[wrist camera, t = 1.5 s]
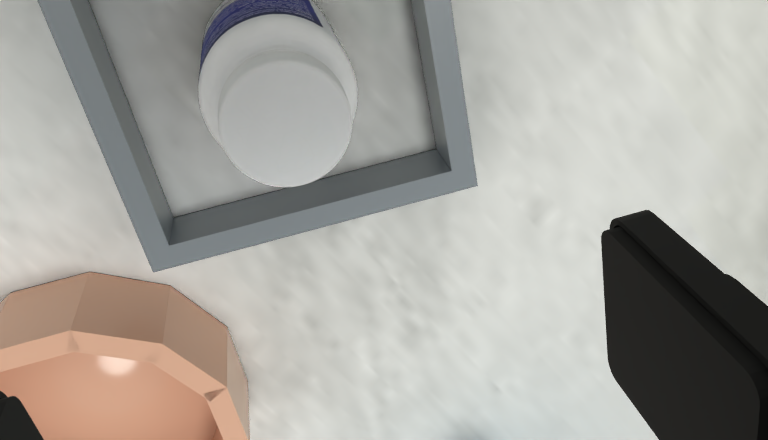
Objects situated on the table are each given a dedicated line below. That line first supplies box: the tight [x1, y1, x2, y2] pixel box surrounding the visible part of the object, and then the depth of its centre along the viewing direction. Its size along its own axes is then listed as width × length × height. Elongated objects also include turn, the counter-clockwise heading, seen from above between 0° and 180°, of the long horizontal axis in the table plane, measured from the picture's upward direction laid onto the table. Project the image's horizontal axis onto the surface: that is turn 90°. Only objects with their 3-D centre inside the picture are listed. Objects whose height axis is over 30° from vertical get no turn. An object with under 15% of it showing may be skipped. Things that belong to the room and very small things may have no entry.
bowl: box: [0, 272, 250, 440], centre depth 33 cm, size 13×13×4 cm
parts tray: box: [38, 0, 478, 272], centre depth 28 cm, size 14×14×2 cm
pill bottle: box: [198, 0, 358, 187], centre depth 25 cm, size 5×5×9 cm
